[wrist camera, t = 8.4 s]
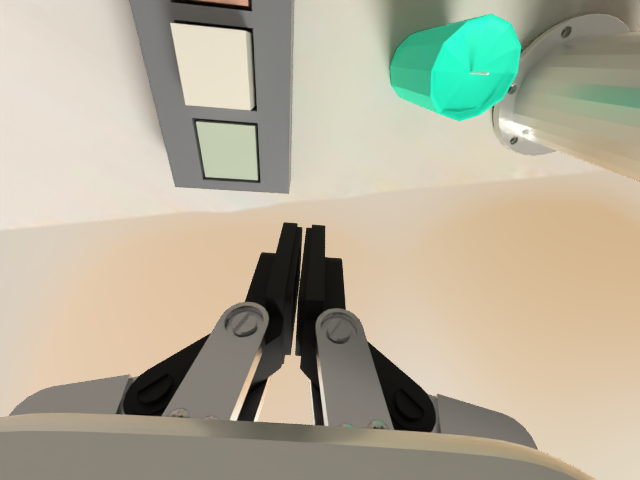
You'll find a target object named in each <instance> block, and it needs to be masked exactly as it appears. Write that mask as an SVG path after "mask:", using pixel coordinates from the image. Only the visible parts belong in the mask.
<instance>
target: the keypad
mask: <svg viewBox="0 0 640 480" xmlns="http://www.w3.org/2000/svg"><path fill="white" fill-rule="evenodd" d="M129 1H130V5H131V9H132V13H133V17H134V21H135V25H136V29H137V33H138V37H139V41H140V45H141V49H142V53H143V57H144V62H145V66H146V70H147V74H148V78H149V82H150V86H151V90H152V94H153V98H154V102H155V106H156V110H157V114H158V119H159V123H160V127H161V131H162V135H163V139H164V143H165V147H166V151H167V155H168V159H169V163H170V167H171V171H172V175H173V180H174V184H175V187H185V188H202V189H219V190H236V191H253V192H270V193H287V194H289V188H290V181H291V136H292V85H293V34H294V0H252V11H244V10H235V9H226V8H217V7H208V6H199V5H190V4H188V3H185V2H183V1H181V0H129ZM170 23H177V24H187V25H196V26H206V27H215V28H224V29H234V30H243V31H247V32H250V33H252V34H253V46H254V66H255V87H256V106H255V107H254V108H253V109H252V110H239V109H226V108H214V107H202V106H190V105H185V100H184V95H183V89H182V84H181V79H180V73H179V68H178V63H177V57H176V52H175V47H174V41H173V36H172V30H171V25H170ZM200 119H211V120H224V121H237V122H249V123H258V140H259V160H260V176H259V178H258V180H245V179H229V178H213V177H205V172H204V166H203V160H202V154H201V148H200V143H199V137H198V131H197V125H196V121H198V120H200Z"/></svg>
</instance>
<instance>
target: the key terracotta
mask: <svg viewBox="0 0 640 480" xmlns="http://www.w3.org/2000/svg"><path fill="white" fill-rule="evenodd" d="M181 1H183V2H185V3H188V4H190V5H199V6H208V7H217V8H226V9H235V10H244V11H252V0H181Z"/></svg>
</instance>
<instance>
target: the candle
mask: <svg viewBox="0 0 640 480" xmlns="http://www.w3.org/2000/svg"><path fill="white" fill-rule="evenodd" d="M520 53H521V44H520V42H519V40H518V37H517V35H516V33H515V31H514V29H513V26H512V24H511V23H509V22H507V21H505V20H503V19H501V18H499V17H497V16H495V15H493V14H489V15H485V16H480V17H476V18H472V19H468V20H464V21H460V22H456V23H452V24H448V25H443V26H439V27H435V28H431V29H427V30H424V31H420V32H417V33H413V34H410V35H409V36H408V37H407V38H406V39H405V40H404V41H403V42H402V43H401V44H400V45H399V46H398V48H397V49H396V51H395V54H394V57H393V59H392V62H391V65H390V79H391V86H392V87H393V89H394V90H395V92H396V93H397V94H398V96H399V97H400V98H402V99H405V100H407V101H410V102H412V103H414V104H417V105H419V106H422V107H424V108H426V109H429V110H431V111H433V112H436V113H438V114H441V115H444V116H446V117H449V118H452V119H455V120H458V121H462V120H465V119H469V118H472V117H475V116H478V115H481V114H482V113H483V112H485V111H486V110H488V109H489V108H491V107H492V106H494V105H495V104H497V103H498V102H500V101H501V100H503V98H504V97H505V95H506V93H507V91H508V90H509V88H510V86H511V84H512V83H513V81H514V79H515V77H516V75H517V73H518V66H519V60H520Z"/></svg>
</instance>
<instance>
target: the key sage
mask: <svg viewBox="0 0 640 480" xmlns="http://www.w3.org/2000/svg"><path fill="white" fill-rule="evenodd" d="M196 125H197V131H198V137H199V143H200V148H201V154H202V160H203V166H204V172H205V177H213V178H229V179H245V180H258V178H259V176H260V160H259V140H258V123H249V122H237V121H224V120H211V119H200V120H198V121H196Z"/></svg>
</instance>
